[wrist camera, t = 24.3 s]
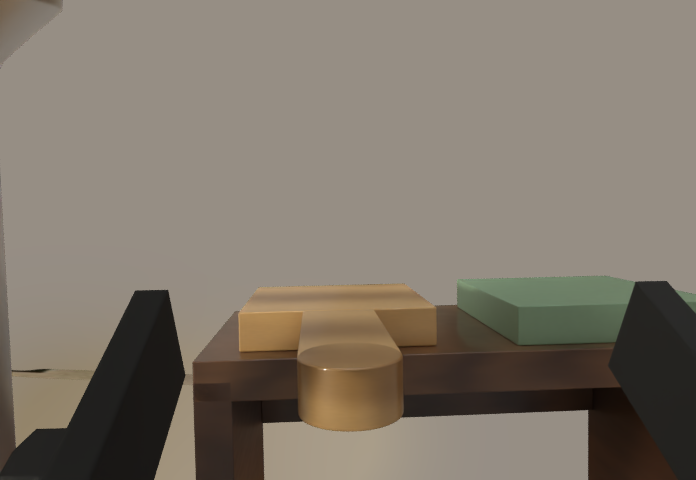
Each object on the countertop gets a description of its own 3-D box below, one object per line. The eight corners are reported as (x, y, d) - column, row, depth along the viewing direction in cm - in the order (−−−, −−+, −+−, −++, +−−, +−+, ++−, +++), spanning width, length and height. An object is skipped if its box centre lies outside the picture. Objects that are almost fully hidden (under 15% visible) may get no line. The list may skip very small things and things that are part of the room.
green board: (518, 346, 28) (517, 306, 28) (457, 307, 40) (456, 279, 40) (726, 338, 29) (727, 300, 29) (605, 302, 41) (605, 275, 41)
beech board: (258, 316, 38) (258, 287, 38) (405, 312, 38) (404, 283, 38) (191, 439, 17) (188, 374, 17) (512, 425, 18) (512, 362, 17)
